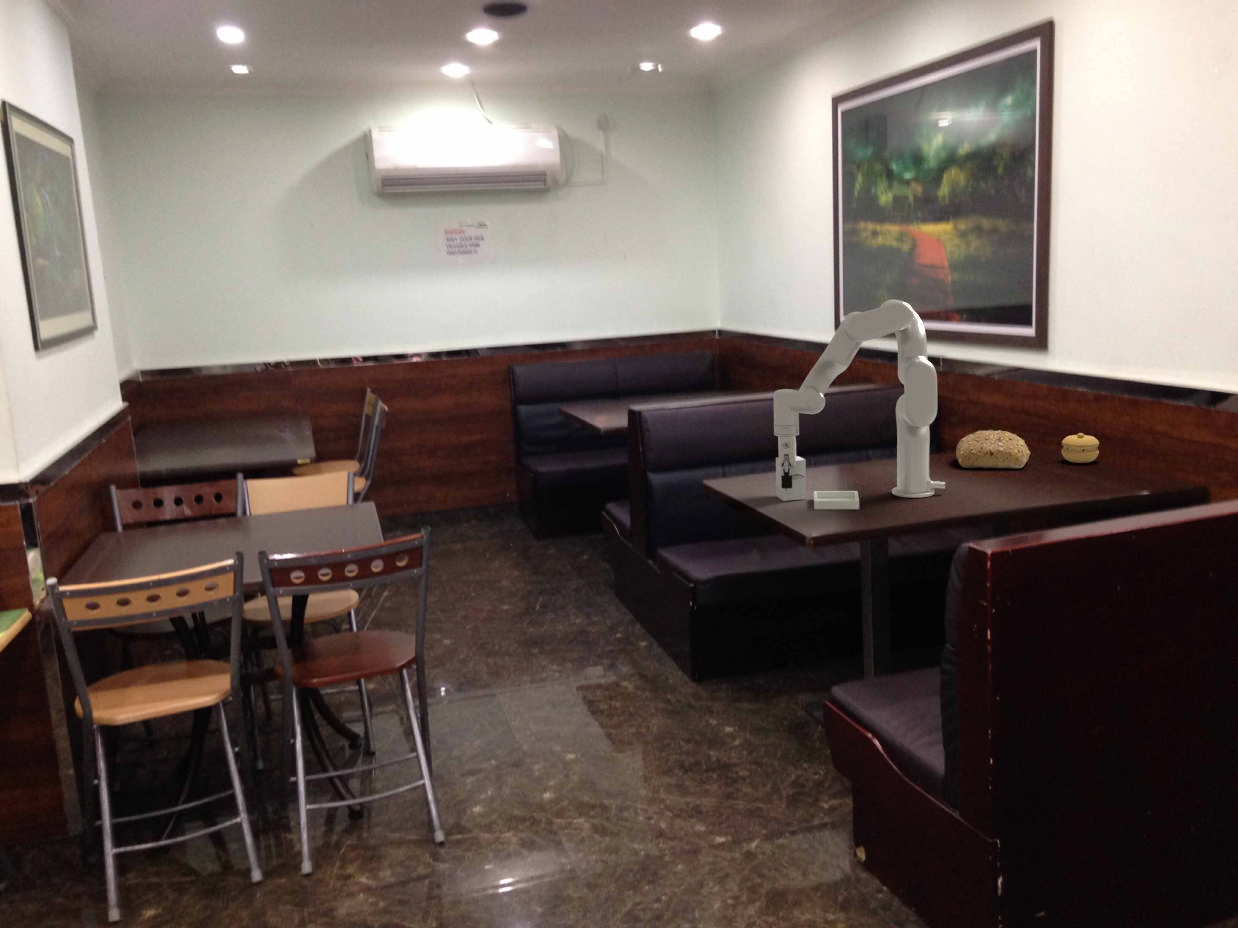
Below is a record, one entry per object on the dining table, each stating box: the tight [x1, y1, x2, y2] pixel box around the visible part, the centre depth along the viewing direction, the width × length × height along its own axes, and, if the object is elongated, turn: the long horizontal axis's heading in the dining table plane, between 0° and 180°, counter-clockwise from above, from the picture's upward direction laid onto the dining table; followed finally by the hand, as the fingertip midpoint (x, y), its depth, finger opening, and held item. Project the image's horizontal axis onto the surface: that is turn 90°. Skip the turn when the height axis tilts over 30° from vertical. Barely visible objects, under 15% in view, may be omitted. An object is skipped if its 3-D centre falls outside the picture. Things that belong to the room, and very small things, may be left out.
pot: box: [1060, 432, 1100, 464], centre depth 352 cm, size 12×12×10 cm
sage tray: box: [813, 490, 860, 510], centre depth 311 cm, size 13×13×2 cm
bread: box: [955, 429, 1031, 469], centre depth 355 cm, size 24×21×12 cm
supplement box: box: [775, 455, 807, 502], centre depth 320 cm, size 7×7×13 cm
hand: (787, 484), depth 321 cm, fingers closed on supplement box, 8 cm apart
